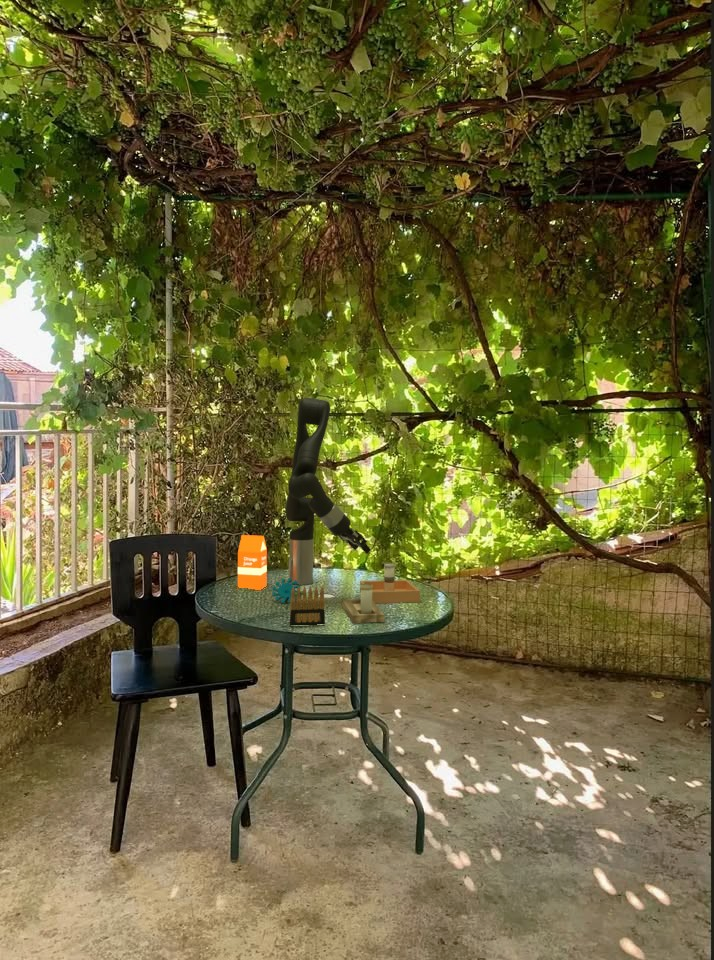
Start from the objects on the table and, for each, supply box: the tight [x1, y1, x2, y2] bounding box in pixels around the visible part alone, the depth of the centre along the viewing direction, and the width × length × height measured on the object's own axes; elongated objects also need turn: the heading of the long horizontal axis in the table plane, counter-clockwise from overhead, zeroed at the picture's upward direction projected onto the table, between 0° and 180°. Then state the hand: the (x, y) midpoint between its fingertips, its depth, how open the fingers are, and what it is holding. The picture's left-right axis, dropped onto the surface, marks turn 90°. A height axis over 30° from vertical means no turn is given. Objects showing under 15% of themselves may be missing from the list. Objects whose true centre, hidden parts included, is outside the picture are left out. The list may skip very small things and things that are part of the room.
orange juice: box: [237, 534, 268, 590], centre depth 261 cm, size 8×9×20 cm
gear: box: [271, 577, 303, 604], centre depth 244 cm, size 11×6×10 cm
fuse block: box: [341, 598, 385, 624], centre depth 227 cm, size 10×21×2 cm, turn 10°
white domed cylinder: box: [383, 562, 396, 591], centre depth 251 cm, size 4×4×11 cm
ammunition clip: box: [289, 585, 326, 626], centre depth 213 cm, size 11×2×12 cm, turn 100°
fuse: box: [359, 584, 373, 614], centre depth 221 cm, size 4×4×11 cm
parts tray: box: [359, 579, 421, 605], centre depth 252 cm, size 18×18×4 cm
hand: (362, 550), depth 245 cm, fingers open, 8 cm apart
